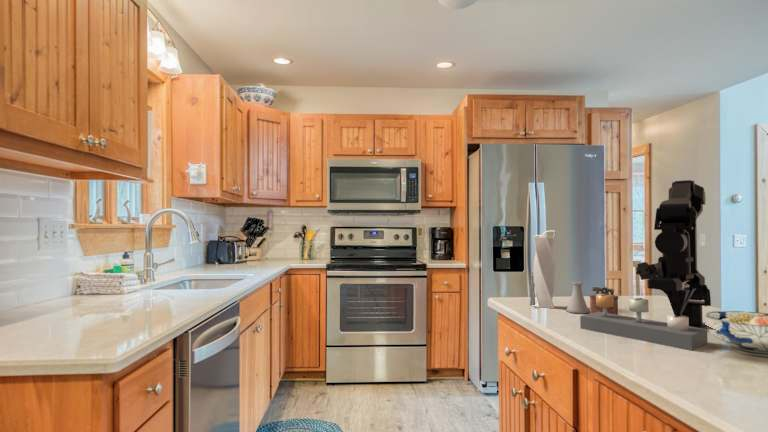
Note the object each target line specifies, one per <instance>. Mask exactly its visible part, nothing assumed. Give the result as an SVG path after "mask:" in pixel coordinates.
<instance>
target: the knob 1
mask: <svg viewBox="0 0 768 432" xmlns="http://www.w3.org/2000/svg"><path fill="white" fill-rule="evenodd" d="M595 294H596V293H595ZM613 295H614V294H613ZM613 295H611V294H610V293H609V294H601V293H599V294H596V305H597V306H600V307H603V317H607V307H614V296H613Z"/></svg>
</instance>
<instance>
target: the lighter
mask: <svg viewBox="0 0 768 432" xmlns="http://www.w3.org/2000/svg"><path fill="white" fill-rule="evenodd" d="M591 291H592V292H595V293H589V303H590V305H589V312H590V313H589V314H591V313H595V312H603V307H600V306H597V305H596V294H610V295H613V296H614V307H607V313H610V314H616V315H619V304H618V303H619V302H618V300H619V296H618V295H614V293H615V292H614V291H615V289H614V288H608V287H606V286H603V287H600V286H591Z"/></svg>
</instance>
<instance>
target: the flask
mask: <svg viewBox="0 0 768 432" xmlns="http://www.w3.org/2000/svg"><path fill="white" fill-rule="evenodd" d="M571 284H572V293H571V297H570V299H569V302H568V306H567V308H566V312H569V313H572V314H573V313H574V314H590V313H589V312H590V309H589V308H588V305H587V302H586V299H585V297H584V295H583V289H582V285H583V282H580V281H572V282H571Z"/></svg>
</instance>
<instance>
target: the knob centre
mask: <svg viewBox="0 0 768 432" xmlns="http://www.w3.org/2000/svg"><path fill="white" fill-rule="evenodd" d="M628 303H629V304H628V306H629V311H630V312H633V313H636V318H637V323H642V319H643V318H642V313H648V312H649V311H650V310H649V306H650V305H649V299H647V298H642V297H630V298H629V299H628Z"/></svg>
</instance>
